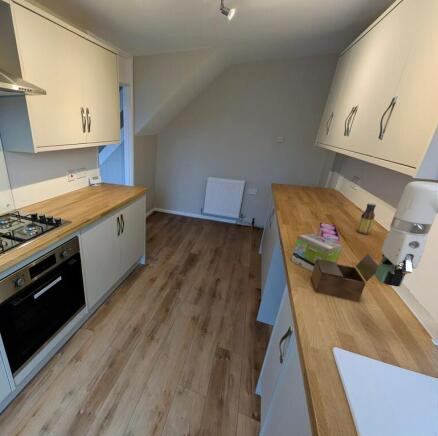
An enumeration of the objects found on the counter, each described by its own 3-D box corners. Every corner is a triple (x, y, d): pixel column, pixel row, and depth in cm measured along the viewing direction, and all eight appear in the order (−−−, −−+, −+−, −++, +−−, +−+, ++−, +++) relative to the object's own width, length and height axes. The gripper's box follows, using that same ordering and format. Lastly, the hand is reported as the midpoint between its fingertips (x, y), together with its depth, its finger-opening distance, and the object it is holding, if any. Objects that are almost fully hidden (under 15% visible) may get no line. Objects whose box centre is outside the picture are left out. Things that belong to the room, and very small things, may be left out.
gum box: (313, 242, 141) (319, 221, 137) (329, 246, 137) (336, 224, 133) (314, 259, 122) (321, 235, 118) (333, 264, 118) (341, 239, 114)
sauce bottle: (364, 231, 158) (374, 202, 152) (371, 235, 153) (382, 205, 146) (353, 230, 159) (363, 202, 152) (360, 234, 153) (370, 205, 146)
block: (392, 278, 74) (398, 266, 73) (400, 286, 71) (405, 273, 69) (374, 275, 76) (379, 263, 75) (380, 283, 72) (385, 270, 71)
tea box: (290, 261, 120) (296, 235, 115) (304, 258, 124) (311, 232, 119) (319, 277, 107) (328, 248, 102) (334, 273, 110) (343, 245, 105)
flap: (355, 266, 98) (356, 266, 98) (366, 281, 88) (366, 281, 88) (367, 253, 95) (368, 254, 95) (380, 267, 85) (381, 268, 85)
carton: (348, 286, 101) (355, 265, 98) (357, 303, 91) (366, 281, 88) (310, 278, 107) (316, 258, 103) (315, 293, 97) (322, 272, 93)
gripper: (449, 239, 58) (419, 300, 65) (411, 218, 73) (389, 269, 79) (408, 234, 61) (383, 293, 67) (379, 214, 76) (361, 264, 82)
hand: (387, 279), depth 73 cm, fingers closed on block, 4 cm apart
